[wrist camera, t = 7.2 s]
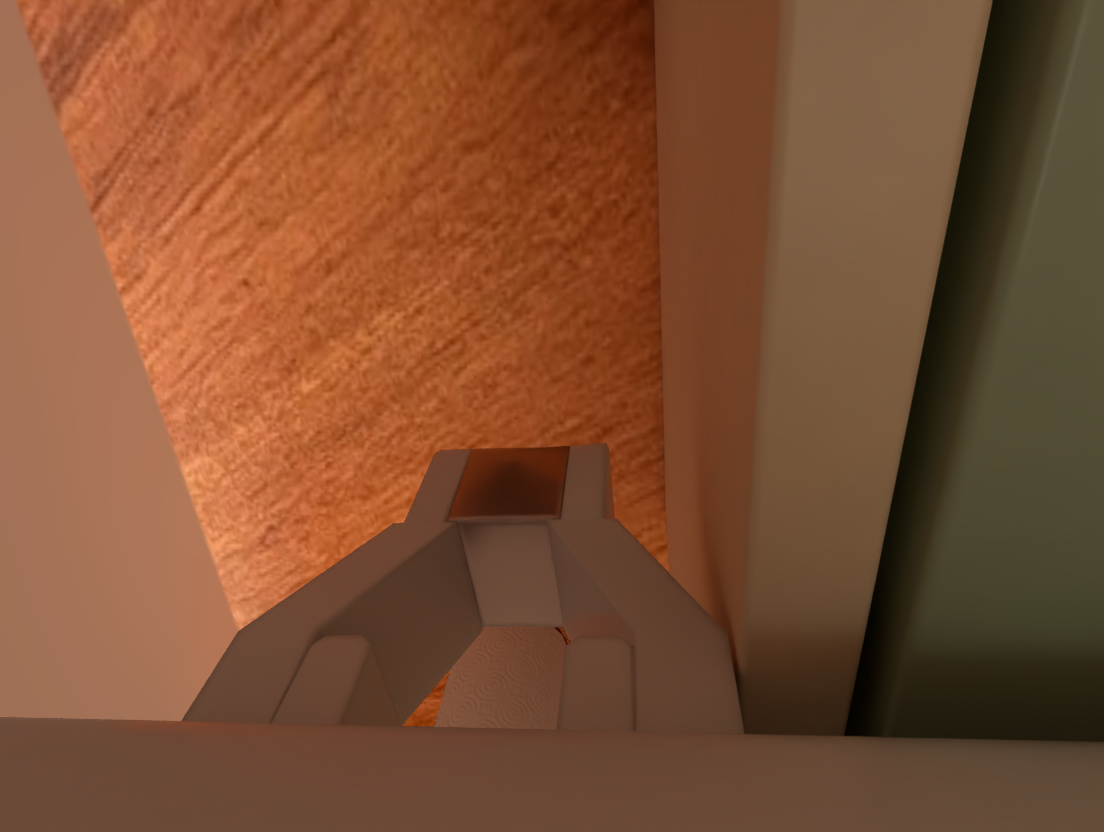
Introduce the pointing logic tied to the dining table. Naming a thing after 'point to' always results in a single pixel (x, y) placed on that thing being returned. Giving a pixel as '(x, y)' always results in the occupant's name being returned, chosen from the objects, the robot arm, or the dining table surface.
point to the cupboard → (1006, 418)
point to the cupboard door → (798, 311)
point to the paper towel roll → (506, 680)
